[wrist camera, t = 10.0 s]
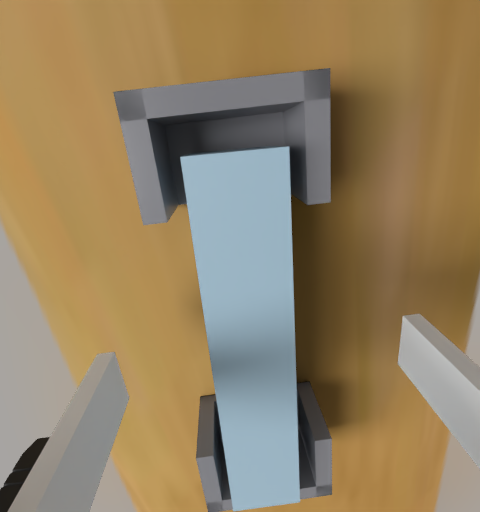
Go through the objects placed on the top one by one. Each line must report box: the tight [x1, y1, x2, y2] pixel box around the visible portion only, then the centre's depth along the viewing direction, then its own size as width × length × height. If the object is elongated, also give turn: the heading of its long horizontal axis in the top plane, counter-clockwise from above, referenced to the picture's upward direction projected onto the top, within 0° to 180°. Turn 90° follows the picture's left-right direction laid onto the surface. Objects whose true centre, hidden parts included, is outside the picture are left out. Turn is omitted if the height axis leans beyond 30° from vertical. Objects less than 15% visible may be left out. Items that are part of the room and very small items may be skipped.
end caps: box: [113, 68, 332, 512], centre depth 17 cm, size 24×8×5 cm, turn 6°
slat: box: [180, 146, 300, 511], centre depth 17 cm, size 20×4×5 cm, turn 5°
